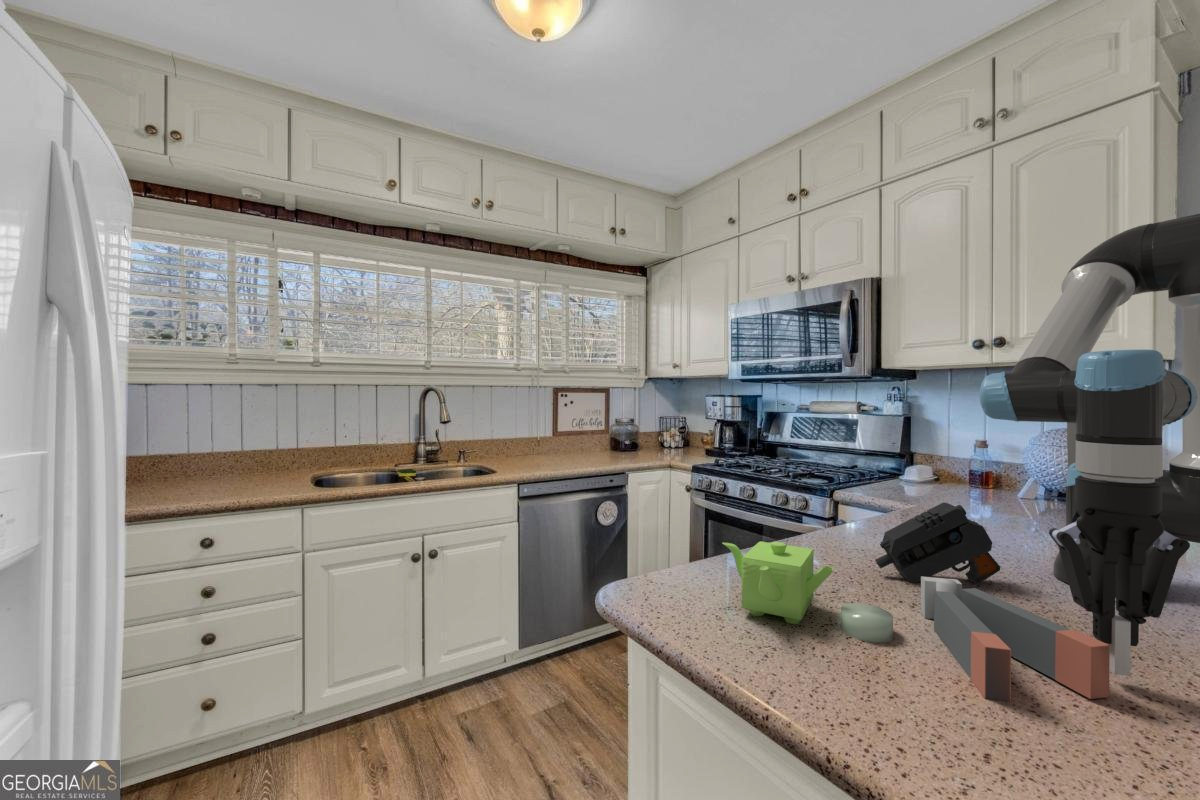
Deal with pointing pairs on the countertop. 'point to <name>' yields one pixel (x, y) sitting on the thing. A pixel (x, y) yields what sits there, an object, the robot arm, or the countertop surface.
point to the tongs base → (967, 638)
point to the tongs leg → (1045, 644)
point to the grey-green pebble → (867, 622)
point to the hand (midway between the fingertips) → (1114, 669)
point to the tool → (939, 545)
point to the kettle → (778, 579)
